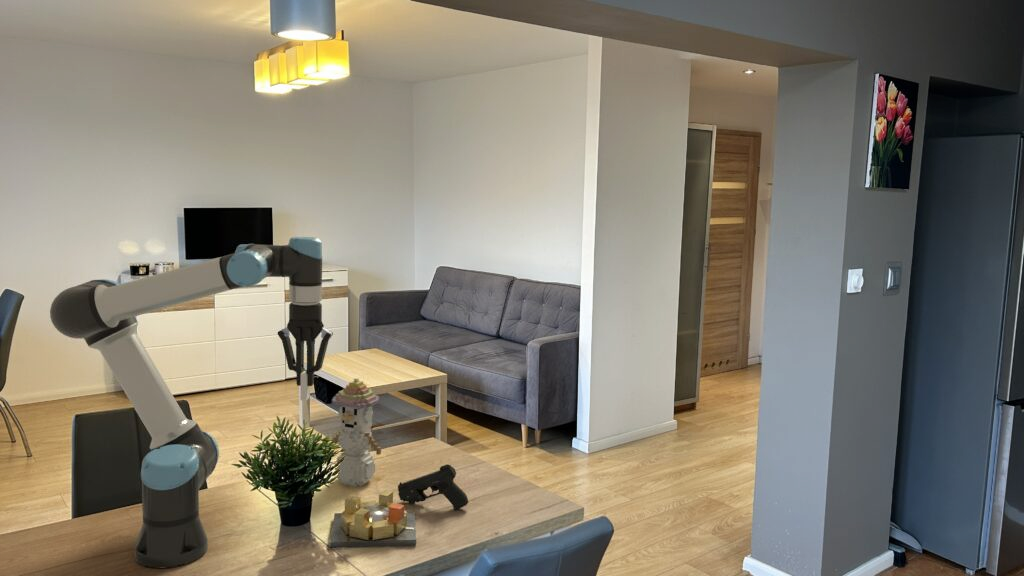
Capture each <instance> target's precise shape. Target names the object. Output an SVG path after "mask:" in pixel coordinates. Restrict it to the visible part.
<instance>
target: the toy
mask: <svg viewBox="0 0 1024 576" xmlns="http://www.w3.org/2000/svg"><path fill="white" fill-rule="evenodd" d="M380 401H381V396H379V395H376V393H374V391H373V390H372V389H371V388H368V386H367V385H366V384H365V383H364V381H363V380H360V378H357V377H356V378H353V380H352V381H350V382H348V384H346V386H345V387H343V388H342V390H339V391H338V393H336V394H335V395H334V396H333V397H332V399H331V404H332V405H336V406H339V407H338V408H339V410H338V412H337V415H338V416H339V417H338V420H339V421H338V422H339V423H340V428H341V430H340V431H338V433H336V434H335V435H334V436H332V438H331V439H330V440H331V441H332V442H333V443H335V445H336V444H338V446H340V448H341V450H343V449H344V450H345V451H344V450H343V452H341V453H340V455H338V456H337V458H336V460H335V462H334V464H335V463H336V462H338V461H339V460H340V459H342V458H343V456H344V455H345V457H344V460H343V461H342V462H341V463H340V465H339V466H338V467H337V468H335V467H334V471H335V470H337V469H340V470H341V471H340V472H339V473H338V475H337V477H336V479H338V481H339V483H341V485H345V486H349V487H356V488H357V487H363V486H364V485H365V484H367V483H368V482H369V481H370V480H372V479H373V477H374V474H375V473H376V462H375V458H374V456H373V455H372V454H371V452H370V451H369V450H370V447H371V448H373V451H374V452H375V453H376V455H377V456H378V455H381V454H382V447H381V446H379V443H378V442H376V439H374V437H373V435H372V433H373V432H371V430H370V429H369V428H371V427H372V426H373V415H374V410H373V406H376V405H377V404H380Z"/></svg>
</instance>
